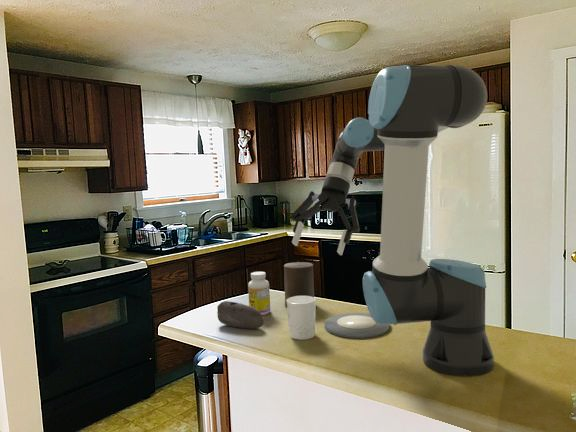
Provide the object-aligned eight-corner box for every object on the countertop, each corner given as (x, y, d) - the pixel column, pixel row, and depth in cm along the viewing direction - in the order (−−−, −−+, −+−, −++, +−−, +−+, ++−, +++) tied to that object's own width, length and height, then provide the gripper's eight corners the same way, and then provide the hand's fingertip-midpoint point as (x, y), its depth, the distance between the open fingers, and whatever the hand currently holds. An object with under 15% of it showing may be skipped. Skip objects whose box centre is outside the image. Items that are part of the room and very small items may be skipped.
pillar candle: (305, 311, 151) (304, 264, 149) (279, 307, 156) (277, 262, 154) (319, 303, 159) (318, 259, 157) (294, 300, 164) (293, 257, 163)
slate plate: (392, 338, 125) (392, 332, 124) (323, 338, 127) (323, 332, 126) (386, 316, 142) (386, 311, 142) (326, 316, 144) (325, 311, 144)
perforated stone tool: (268, 328, 137) (267, 304, 136) (258, 333, 132) (256, 309, 132) (227, 321, 145) (226, 298, 144) (216, 326, 140) (214, 303, 139)
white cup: (282, 338, 128) (281, 302, 127) (296, 329, 135) (294, 294, 134) (309, 342, 124) (308, 305, 123) (321, 332, 131) (320, 297, 130)
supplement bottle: (247, 311, 153) (245, 272, 152) (267, 308, 155) (265, 270, 154) (252, 317, 147) (250, 276, 145) (272, 314, 149) (271, 274, 147)
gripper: (382, 193, 136) (362, 262, 129) (303, 182, 147) (281, 245, 140) (377, 180, 130) (356, 252, 123) (295, 170, 140) (272, 235, 134)
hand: (316, 248), depth 132 cm, fingers open, 13 cm apart
